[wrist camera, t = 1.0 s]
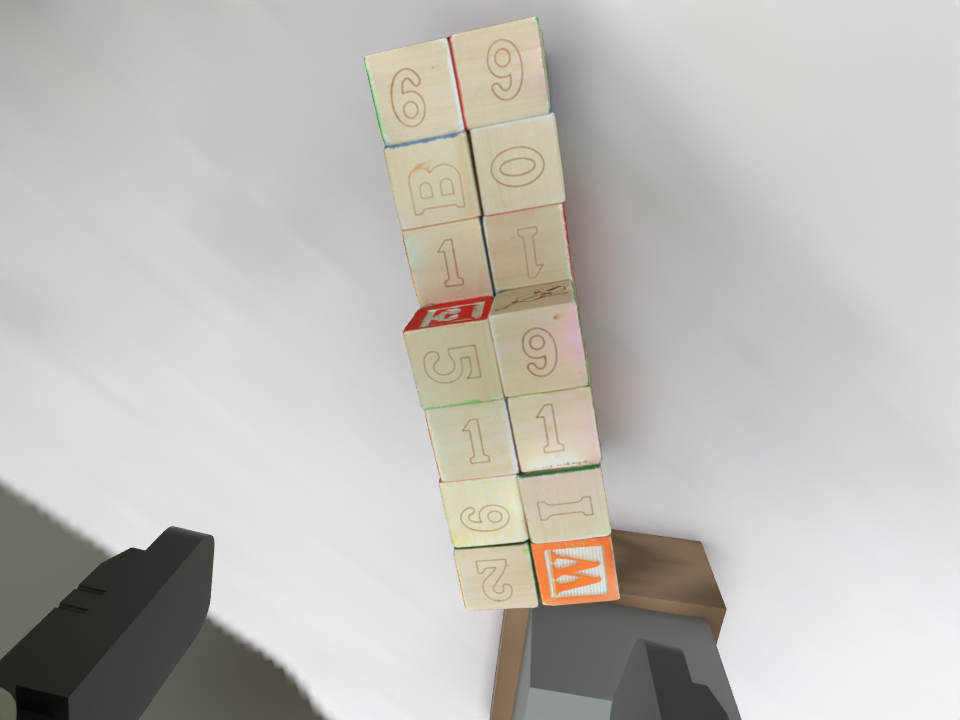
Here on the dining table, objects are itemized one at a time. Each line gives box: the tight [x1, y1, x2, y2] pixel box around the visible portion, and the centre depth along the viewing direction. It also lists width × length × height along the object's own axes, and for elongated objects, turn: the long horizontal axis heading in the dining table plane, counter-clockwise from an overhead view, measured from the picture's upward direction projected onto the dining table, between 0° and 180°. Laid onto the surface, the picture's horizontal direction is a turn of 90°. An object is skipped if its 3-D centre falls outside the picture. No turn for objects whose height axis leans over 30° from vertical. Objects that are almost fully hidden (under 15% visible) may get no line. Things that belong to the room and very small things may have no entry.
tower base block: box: [490, 529, 726, 720], centre depth 37 cm, size 11×16×6 cm
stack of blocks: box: [364, 16, 620, 611], centre depth 27 cm, size 21×6×12 cm, turn 10°
